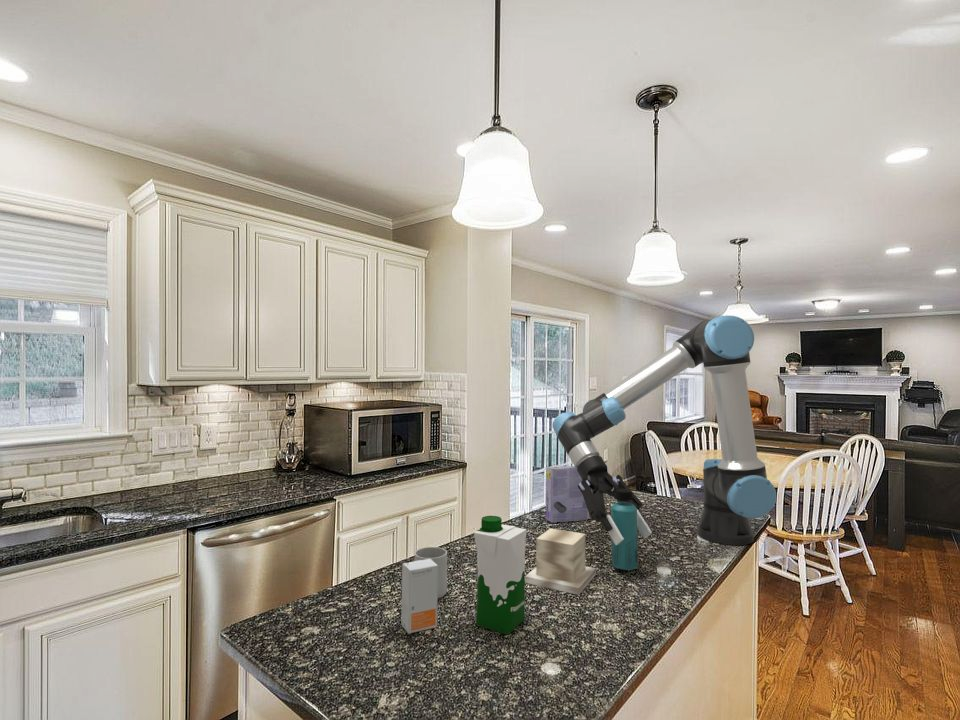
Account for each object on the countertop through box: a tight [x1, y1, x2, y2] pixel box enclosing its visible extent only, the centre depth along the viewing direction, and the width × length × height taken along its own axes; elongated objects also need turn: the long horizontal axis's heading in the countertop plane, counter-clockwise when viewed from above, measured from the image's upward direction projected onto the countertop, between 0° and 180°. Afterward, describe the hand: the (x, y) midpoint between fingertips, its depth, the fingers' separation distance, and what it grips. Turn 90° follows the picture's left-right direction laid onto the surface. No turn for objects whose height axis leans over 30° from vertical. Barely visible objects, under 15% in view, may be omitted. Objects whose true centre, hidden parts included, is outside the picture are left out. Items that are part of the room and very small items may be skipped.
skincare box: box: [400, 559, 438, 635], centre depth 99 cm, size 6×4×12 cm
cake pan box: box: [545, 465, 592, 524], centre depth 170 cm, size 19×5×18 cm, turn 108°
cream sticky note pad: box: [525, 527, 597, 596], centre depth 122 cm, size 13×13×10 cm
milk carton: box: [473, 515, 527, 636], centre depth 101 cm, size 9×9×20 cm
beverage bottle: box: [610, 489, 639, 571], centre depth 127 cm, size 6×7×20 cm
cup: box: [414, 546, 448, 600], centre depth 113 cm, size 7×10×9 cm
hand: (634, 538), depth 124 cm, fingers open, 9 cm apart
